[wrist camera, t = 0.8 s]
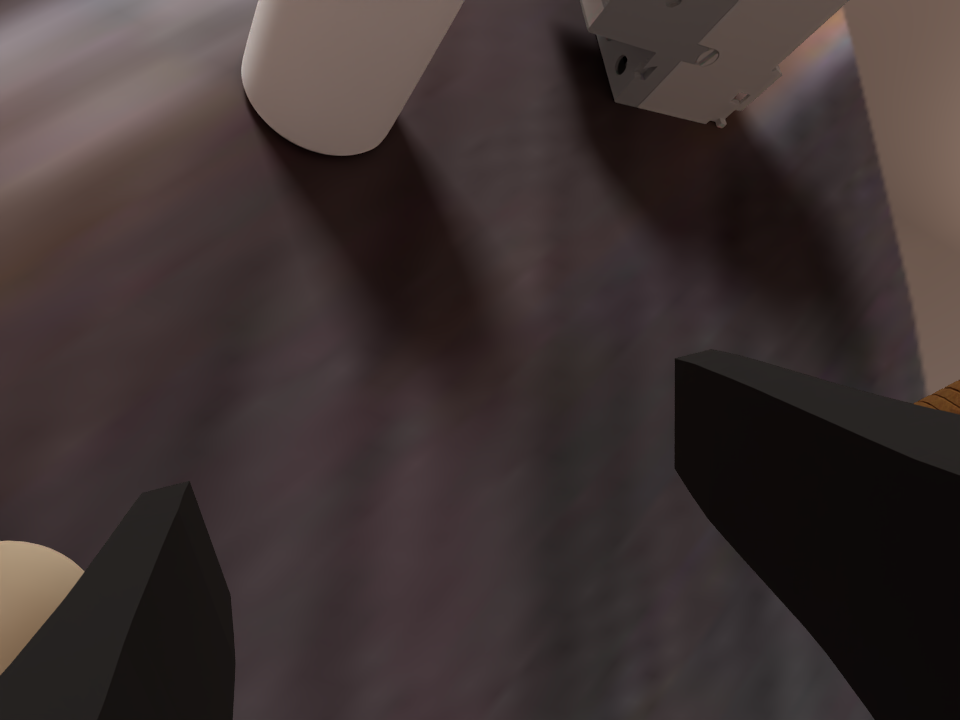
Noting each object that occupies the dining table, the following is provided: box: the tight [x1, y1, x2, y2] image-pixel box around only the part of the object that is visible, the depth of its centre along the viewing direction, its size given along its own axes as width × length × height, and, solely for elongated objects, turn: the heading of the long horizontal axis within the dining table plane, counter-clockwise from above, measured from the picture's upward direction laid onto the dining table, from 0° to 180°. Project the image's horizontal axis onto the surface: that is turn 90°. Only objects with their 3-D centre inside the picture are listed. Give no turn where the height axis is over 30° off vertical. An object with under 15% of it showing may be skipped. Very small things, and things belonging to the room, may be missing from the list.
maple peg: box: [0, 541, 84, 675], centre depth 17 cm, size 4×4×6 cm
